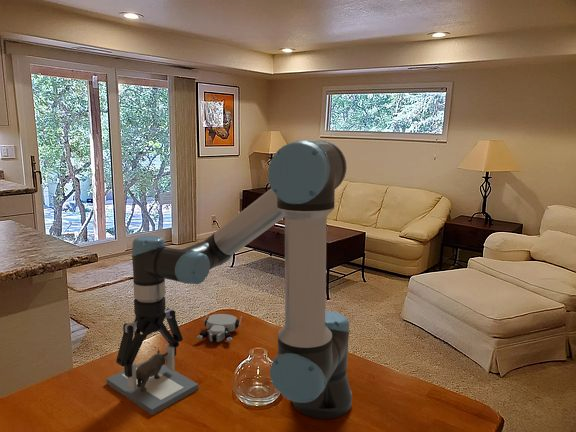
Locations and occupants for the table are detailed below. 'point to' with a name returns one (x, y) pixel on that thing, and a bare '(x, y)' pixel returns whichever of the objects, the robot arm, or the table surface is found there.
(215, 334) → the robot toy
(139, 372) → the rhino figurine
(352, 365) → the table surface
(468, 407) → the table surface
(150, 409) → the display plate
